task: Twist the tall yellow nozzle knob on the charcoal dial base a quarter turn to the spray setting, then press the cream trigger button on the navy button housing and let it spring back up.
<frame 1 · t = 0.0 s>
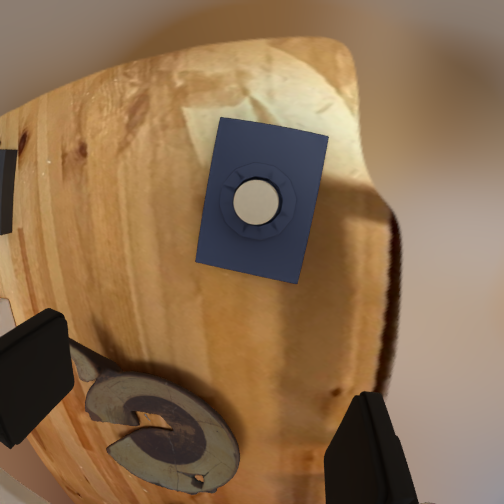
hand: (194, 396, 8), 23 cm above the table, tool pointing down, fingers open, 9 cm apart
oil lamp: (162, 408, 38), on the table
button housing: (261, 198, 30), on the table
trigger: (256, 201, 26), point 4 cm above the table, slide at 0.1 cm
container: (3, 317, 39), on the table
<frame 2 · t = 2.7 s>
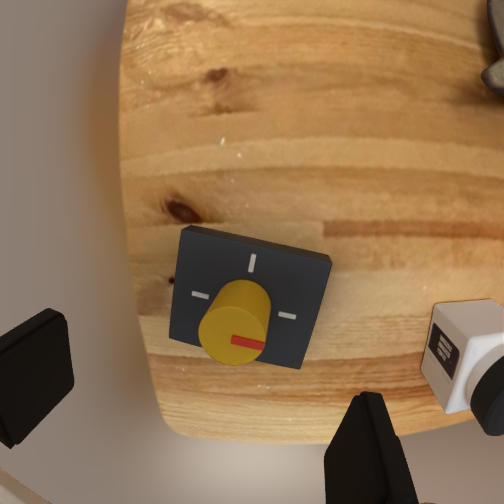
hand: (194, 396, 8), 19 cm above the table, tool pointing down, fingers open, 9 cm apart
nozzle knob: (237, 320, 22), point 5 cm above the table, hinge at 0.0°
dial base: (247, 294, 27), on the table
container: (456, 333, 26), on the table
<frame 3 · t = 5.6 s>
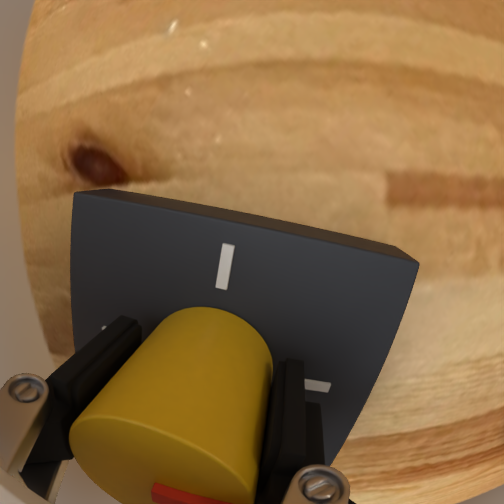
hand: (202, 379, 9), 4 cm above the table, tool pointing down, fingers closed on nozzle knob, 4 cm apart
nozzle knob: (185, 416, 7), point 5 cm above the table, hinge at 0.1°, touching gripper
dial base: (224, 330, 13), on the table
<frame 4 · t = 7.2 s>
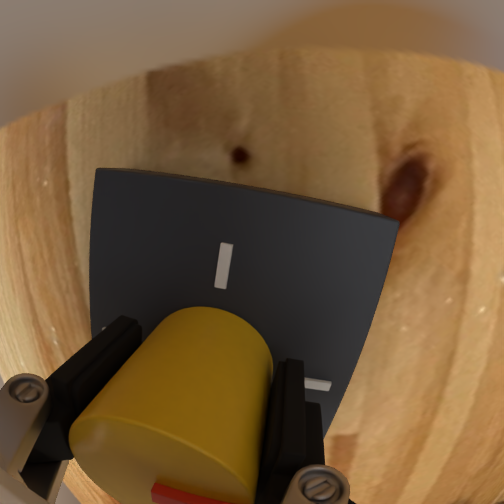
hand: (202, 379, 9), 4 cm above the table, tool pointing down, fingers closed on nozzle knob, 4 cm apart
nozzle knob: (185, 416, 7), point 5 cm above the table, hinge at 89.7°, touching gripper
dial base: (224, 330, 13), on the table
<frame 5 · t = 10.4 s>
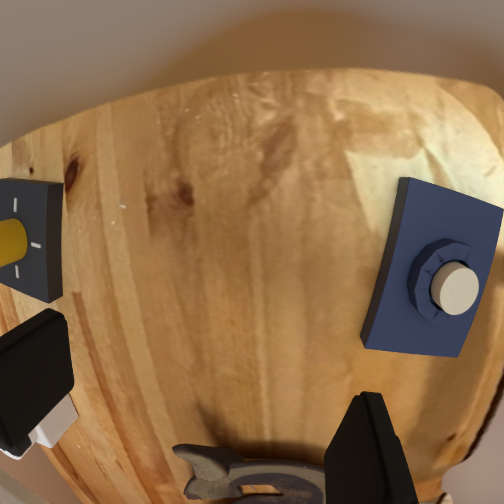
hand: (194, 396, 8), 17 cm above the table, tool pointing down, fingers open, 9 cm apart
oil lamp: (274, 478, 32), on the table
button housing: (431, 271, 23), on the table
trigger: (455, 288, 19), point 4 cm above the table, slide at 0.1 cm
dial base: (31, 234, 28), on the table
container: (52, 389, 33), on the table
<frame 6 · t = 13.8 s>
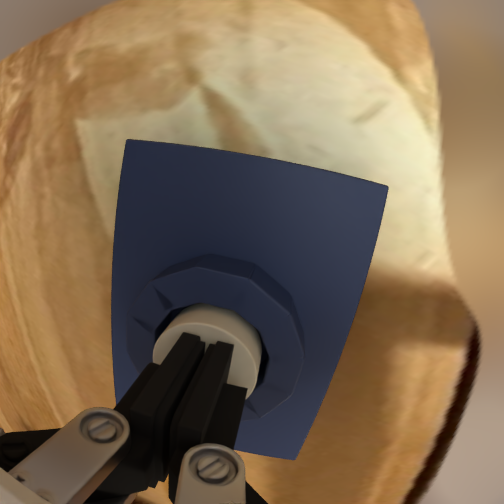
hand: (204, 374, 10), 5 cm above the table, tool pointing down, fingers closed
button housing: (229, 312, 14), on the table
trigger: (208, 357, 10), point 4 cm above the table, slide at -0.4 cm, touching gripper
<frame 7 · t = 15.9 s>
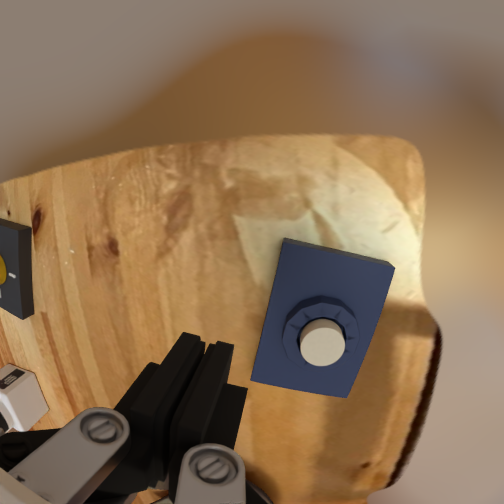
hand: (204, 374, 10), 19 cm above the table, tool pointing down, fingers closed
oil lamp: (202, 477, 36), on the table
button housing: (318, 320, 29), on the table
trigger: (322, 342, 24), point 4 cm above the table, slide at 0.1 cm
dial base: (10, 263, 33), on the table
container: (29, 385, 38), on the table
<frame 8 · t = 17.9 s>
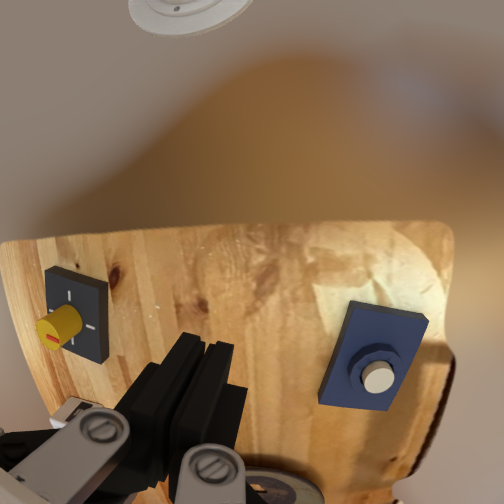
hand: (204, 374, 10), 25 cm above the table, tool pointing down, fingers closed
oil lamp: (260, 479, 44), on the table
button housing: (370, 357, 36), on the table
nozzle knob: (58, 327, 34), point 5 cm above the table, hinge at 89.1°
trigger: (377, 377, 31), point 4 cm above the table, slide at 0.1 cm
dial base: (80, 312, 40), on the table
container: (93, 414, 45), on the table
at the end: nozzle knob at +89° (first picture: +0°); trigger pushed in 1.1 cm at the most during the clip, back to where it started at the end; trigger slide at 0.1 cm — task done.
